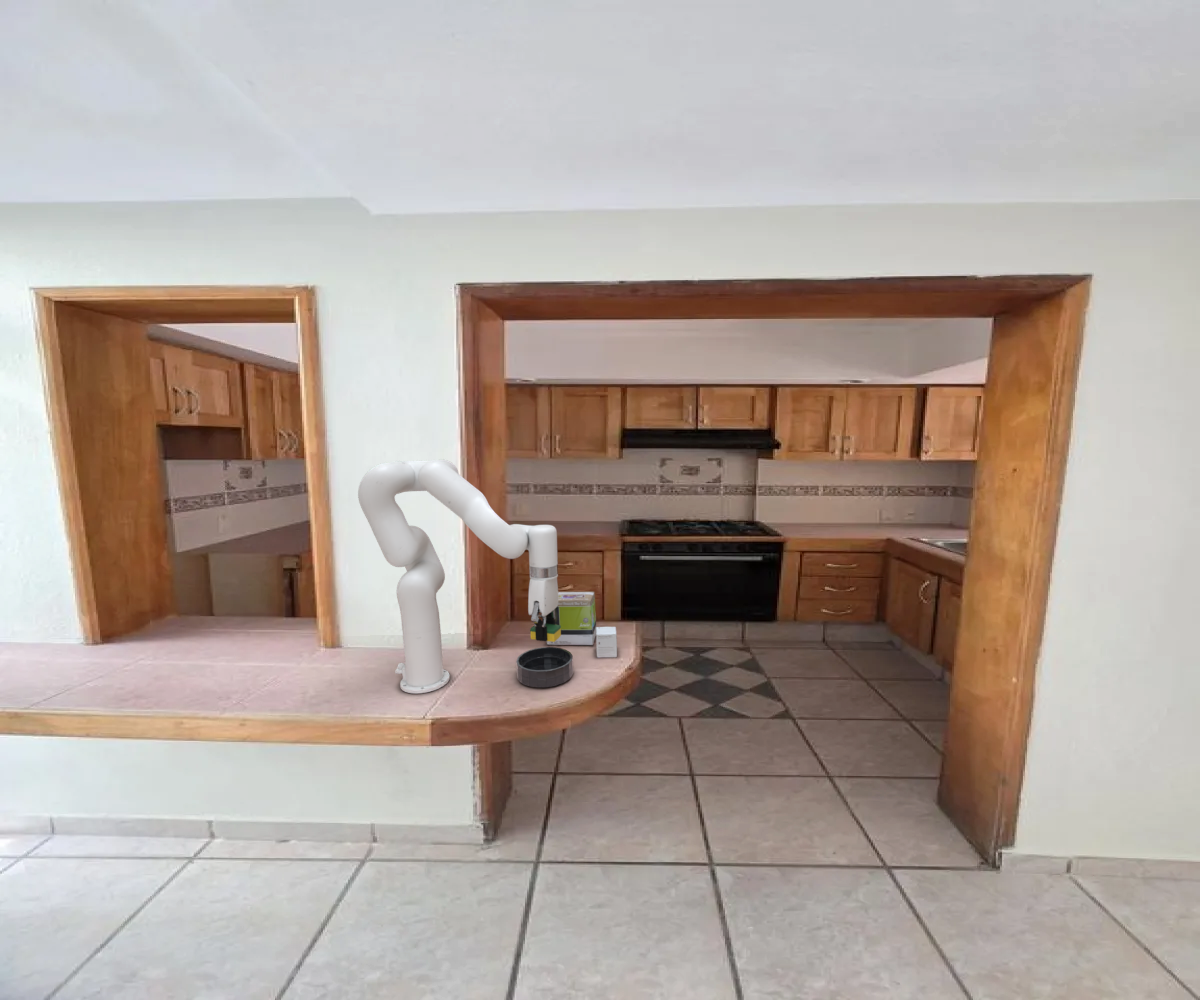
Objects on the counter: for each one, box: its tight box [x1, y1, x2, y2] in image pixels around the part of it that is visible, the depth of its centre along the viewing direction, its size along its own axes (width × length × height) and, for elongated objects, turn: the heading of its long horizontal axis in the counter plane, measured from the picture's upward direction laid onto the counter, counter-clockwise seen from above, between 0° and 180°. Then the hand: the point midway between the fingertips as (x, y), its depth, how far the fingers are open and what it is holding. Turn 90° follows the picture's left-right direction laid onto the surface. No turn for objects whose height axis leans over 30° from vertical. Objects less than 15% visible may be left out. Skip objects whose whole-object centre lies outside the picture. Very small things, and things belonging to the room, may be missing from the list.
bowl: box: [515, 646, 574, 689], centre depth 136 cm, size 15×15×5 cm
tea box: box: [546, 591, 597, 646], centre depth 160 cm, size 15×10×15 cm, turn 84°
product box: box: [595, 626, 618, 658], centre depth 149 cm, size 6×6×7 cm
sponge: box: [529, 624, 561, 642], centre depth 135 cm, size 7×4×3 cm, turn 72°
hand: (545, 636), depth 135 cm, fingers closed on sponge, 4 cm apart
